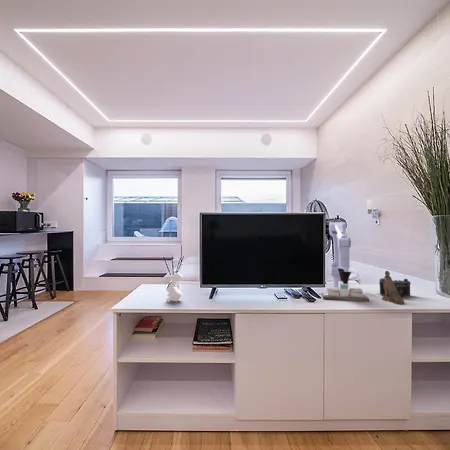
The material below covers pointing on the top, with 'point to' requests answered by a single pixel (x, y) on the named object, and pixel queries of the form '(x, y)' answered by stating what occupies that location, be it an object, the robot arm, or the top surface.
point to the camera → (397, 287)
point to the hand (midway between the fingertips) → (344, 282)
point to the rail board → (353, 295)
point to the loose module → (343, 289)
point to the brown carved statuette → (391, 291)
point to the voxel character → (174, 288)
